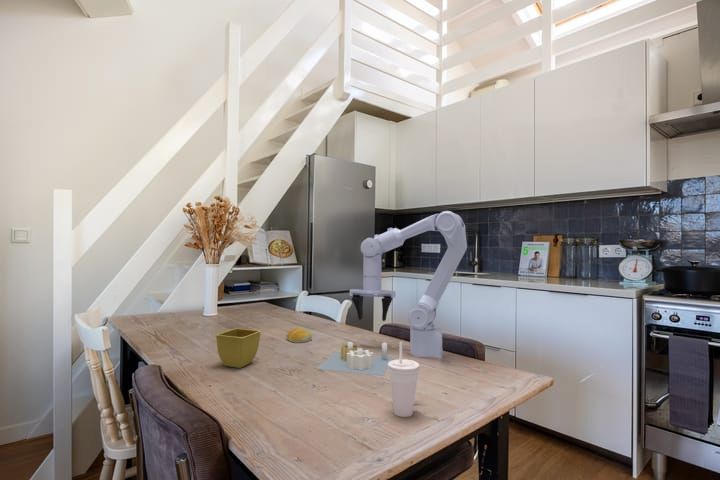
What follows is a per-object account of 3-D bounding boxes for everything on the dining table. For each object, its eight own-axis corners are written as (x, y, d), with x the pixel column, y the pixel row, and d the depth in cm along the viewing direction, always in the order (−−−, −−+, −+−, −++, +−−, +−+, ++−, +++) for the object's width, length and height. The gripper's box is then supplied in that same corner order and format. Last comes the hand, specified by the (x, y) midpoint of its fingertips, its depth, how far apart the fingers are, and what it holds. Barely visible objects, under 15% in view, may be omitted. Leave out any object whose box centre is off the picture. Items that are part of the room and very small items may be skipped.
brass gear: (362, 356, 108) (362, 344, 108) (357, 362, 103) (357, 349, 103) (344, 354, 109) (344, 343, 109) (338, 360, 104) (338, 348, 104)
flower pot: (261, 362, 106) (261, 330, 107) (242, 371, 98) (242, 337, 98) (235, 358, 109) (235, 328, 109) (214, 368, 101) (215, 334, 101)
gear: (375, 363, 102) (375, 350, 102) (368, 371, 95) (368, 357, 95) (351, 360, 104) (351, 348, 104) (343, 368, 97) (343, 355, 97)
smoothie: (385, 406, 77) (385, 338, 78) (415, 405, 78) (415, 337, 78) (390, 420, 71) (390, 346, 71) (423, 419, 71) (423, 346, 72)
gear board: (395, 361, 107) (395, 341, 107) (382, 380, 92) (382, 357, 92) (336, 355, 112) (336, 336, 113) (315, 373, 97) (315, 351, 97)
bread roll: (296, 344, 126) (296, 333, 126) (283, 339, 132) (283, 328, 132) (316, 340, 131) (316, 329, 131) (302, 336, 138) (302, 325, 138)
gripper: (346, 276, 116) (346, 320, 116) (392, 278, 112) (392, 323, 112) (353, 275, 123) (353, 316, 123) (396, 276, 119) (396, 319, 119)
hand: (372, 319), depth 118 cm, fingers open, 7 cm apart
